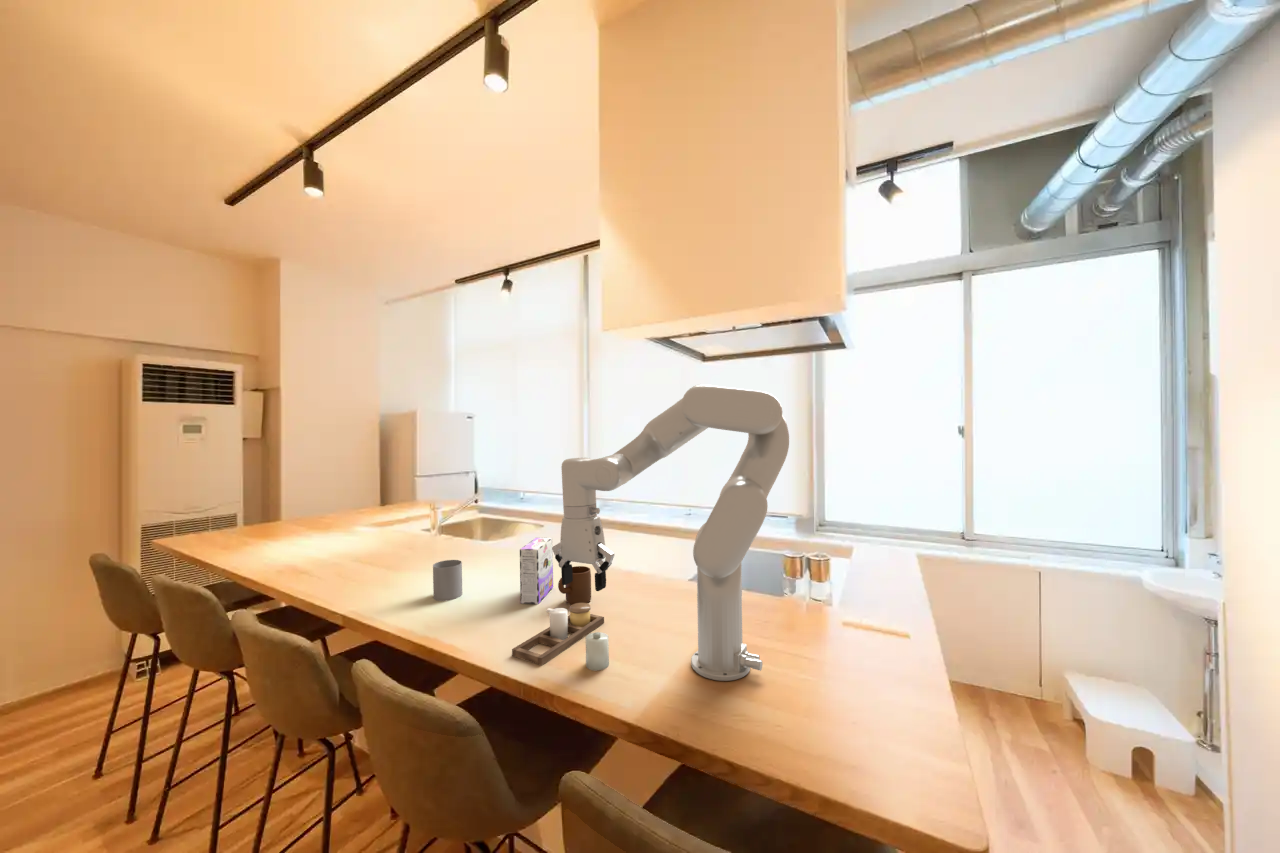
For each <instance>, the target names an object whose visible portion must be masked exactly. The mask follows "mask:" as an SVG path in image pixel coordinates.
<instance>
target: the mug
mask: <svg viewBox="0 0 1280 853" xmlns="http://www.w3.org/2000/svg"><path fill="white" fill-rule="evenodd" d="M591 571H592V570H591V568H590V567H588V566H586V565H585V566H583V565H576V566H572V572H573V581H572V582H570V583H568V584H566V585H562V577H560V579H559V581H558V583H557V586H558V588H557V589H558V590H559V592H560V594H564V595H565V603H567V604H568V605H570V606H571V605H573V604H575V603H588V604H589V603H590V602H591V600H592V574H591Z"/></svg>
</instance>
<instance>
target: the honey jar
mask: <svg viewBox="0 0 1280 853" xmlns="http://www.w3.org/2000/svg"><path fill="white" fill-rule="evenodd" d="M590 614H591V604H589V602H588V603H575V604H573V605H570V606H569V615H570V624H571V625H575V626H579V627H584V626H586V625H587V624H589V623H590Z"/></svg>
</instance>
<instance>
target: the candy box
mask: <svg viewBox="0 0 1280 853" xmlns="http://www.w3.org/2000/svg"><path fill="white" fill-rule="evenodd" d="M552 547H553V537H535V538H533V539H532V540H531V541H529V542H528V543H526V544H525V545H524V546H522V547H521V548H520V549H519V577H520V578H519V579H520V580H519V582H520V583H519V584H520V586H519V588H520V589H519V590H520V594H519V595H520V597H519V598H520V604H523V605H524V604H525V605H539V604H540V603H541V602H542V601H543V600H544V599H545V597H546V596H547V595H549V593H550V591H551V590H552V589H553V588H554V561H553V560H554V559H553V558H554V557H553V554H554V553H553V550H552Z"/></svg>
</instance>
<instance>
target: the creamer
mask: <svg viewBox="0 0 1280 853" xmlns="http://www.w3.org/2000/svg"><path fill="white" fill-rule="evenodd" d="M546 613H549V627H550V637H554V638H557V639H561V640H564V639H566V638H567V637H569V633H568V616H569V615H568V613H569V612H568V609H567V608H564V607H556V608H550V607H548V608H546Z"/></svg>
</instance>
